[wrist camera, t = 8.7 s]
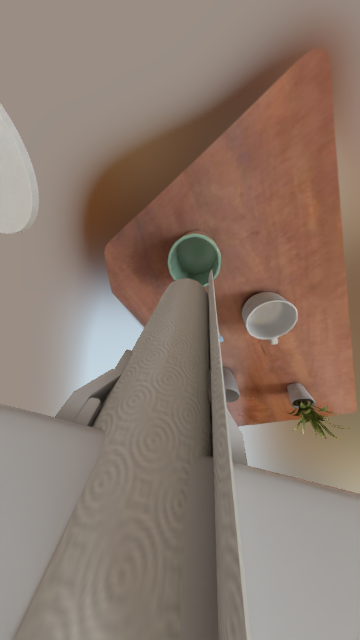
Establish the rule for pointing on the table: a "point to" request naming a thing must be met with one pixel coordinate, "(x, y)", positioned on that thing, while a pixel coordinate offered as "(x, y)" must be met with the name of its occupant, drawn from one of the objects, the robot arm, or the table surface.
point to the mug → (230, 386)
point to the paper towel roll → (149, 492)
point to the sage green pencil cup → (195, 257)
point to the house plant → (306, 408)
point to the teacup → (268, 316)
